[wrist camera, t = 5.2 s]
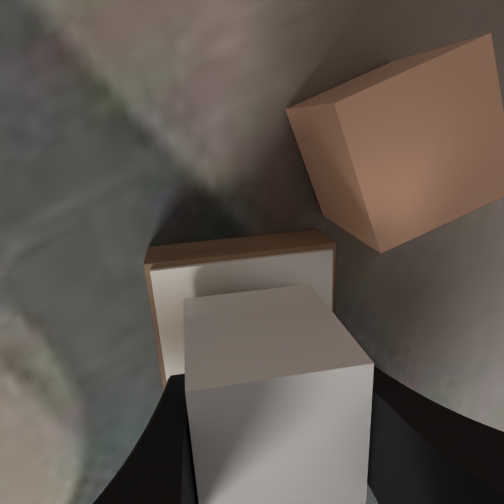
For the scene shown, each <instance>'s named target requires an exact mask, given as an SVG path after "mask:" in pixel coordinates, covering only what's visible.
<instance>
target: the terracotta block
mask: <svg viewBox="0 0 504 504" xmlns="http://www.w3.org/2000/svg"><path fill="white" fill-rule="evenodd" d="M285 110H286V113H287V116H288V119H289V121H290V124H291V127H292V130H293V133H294V135H295V138H296V141H297V144H298V147H299V149H300V152H301V155H302V158H303V161H304V163H305V166H306V169H307V172H308V175H309V177H310V180H311V183H312V186H313V189H314V191H315V194H316V197H317V200H318V203H319V205H320V208H321V211H322V214H323V216H324V217H326V218H327V219H329V220H330V221H332V222H333V223H335V224H336V225H338V226H339V227H341V228H342V229H344V230H345V231H347V232H348V233H350V234H351V235H353V236H354V237H356V238H358V239H359V240H361V241H362V242H364V243H365V244H367V245H368V246H370V247H371V248H373V249H374V250H376V251H377V252H379V253H380V254H381V253H384V252H386V251H388V250H390V249H392V248H394V247H397V246H399V245H401V244H403V243H405V242H407V241H410V240H412V239H414V238H416V237H418V236H420V235H423V234H425V233H427V232H429V231H431V230H433V229H435V228H438V227H440V226H442V225H444V224H446V223H448V222H451V221H453V220H455V219H457V218H459V217H461V216H464V215H466V214H468V213H470V212H472V211H474V210H477V209H479V208H481V207H483V206H485V205H487V204H490V203H492V202H494V201H496V200H498V199H500V198H502V197H504V110H503V104H502V97H501V91H500V85H499V78H498V72H497V66H496V60H495V53H494V47H493V41H492V34H491V33H488V34H485V35H481V36H478V37H474V38H471V39H467V40H464V41H460V42H457V43H454V44H450V45H447V46H443V47H440V48H436V49H433V50H429V51H426V52H422V53H419V54H415V55H412V56H408V57H405V58H402V59H398V60H395V61H392V62H390V63H387V64H385V65H383V66H381V67H378V68H376V69H374V70H372V71H370V72H367V73H365V74H363V75H361V76H358V77H356V78H354V79H352V80H349V81H347V82H345V83H343V84H341V85H338V86H336V87H334V88H332V89H329V90H327V91H325V92H323V93H320V94H318V95H316V96H314V97H312V98H309V99H307V100H305V101H303V102H300V103H298V104H296V105H294V106H291V107H289V108H287V109H285Z"/></svg>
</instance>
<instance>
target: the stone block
mask: <svg viewBox="0 0 504 504" xmlns="http://www.w3.org/2000/svg"><path fill="white" fill-rule="evenodd" d="M184 357H185V395H186V403H187V412H188V420H189V428H190V436H191V445H192V453H193V461H194V469H195V478H196V486H197V494H198V502H199V504H364V503H366V493H367V476H368V459H369V442H370V425H371V408H372V391H373V374H374V363H373V361H372V360H371V359H370V358H369V356H368V355H367V354H366V353H365V352H364V350H363V349H362V348H361V347H360V345H359V344H358V343H357V342H356V340H355V339H354V338H353V337H352V335H351V334H350V333H349V332H348V331H347V329H346V328H345V327H344V326H343V324H342V323H341V322H340V321H339V319H338V318H337V317H336V316H335V315H334V313H333V312H332V311H331V310H330V308H329V307H328V306H327V305H326V303H325V302H324V301H323V300H322V298H321V297H320V296H319V295H318V294H317V292H316V291H315V290H314V289H313V287H312V286H311V285H310V284H307V285H298V286H290V287H281V288H272V289H264V290H255V291H246V292H237V293H229V294H220V295H211V296H203V297H194V298H185V299H184Z"/></svg>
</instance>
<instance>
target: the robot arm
mask: <svg viewBox="0 0 504 504" xmlns="http://www.w3.org/2000/svg"><path fill="white" fill-rule="evenodd" d="M367 483H368V485H369V487H370V488H371V490H372V492H373V494H374V496H375V497H376V499H377V501H378V503H379V504H504V432H502V431H500V430H497V429H494V428H492V427H489V426H487V425H484V424H481V423H479V422H477V421H474V420H472V419H469V418H467V417H465V416H463V415H460V414H458V413H456V412H454V411H452V410H450V409H448V408H445V407H443V406H441V405H439V404H437V403H435V402H433V401H431V400H430V399H428V398H426V397H424V396H422V395H420V394H419V393H417V392H415V391H413V390H411V389H410V388H408V387H406V386H405V385H403V384H401V383H400V382H398V381H396V380H395V379H393V378H392V377H390V376H388V375H387V374H385V373H384V372H382V371H381V370H379V369H377V368H376V367H374V374H373V391H372V408H371V425H370V442H369V459H368V476H367ZM93 504H198V494H197V486H196V478H195V469H194V461H193V453H192V445H191V436H190V428H189V420H188V412H187V403H186V395H185V373H184V374H177V375H171V376H170V377H169V378H168V380H167V384H166V386H165V389H164V392H163V394H162V397H161V399H160V401H159V403H158V405H157V407H156V409H155V411H154V413H153V415H152V417H151V419H150V421H149V423H148V425H147V427H146V429H145V430H144V432H143V434H142V436H141V437H140V439H139V441H138V442H137V444H136V446H135V447H134V449H133V451H132V452H131V454H130V455H129V457H128V458H127V460H126V461H125V463H124V464H123V465H122V467H121V468H120V470H119V471H118V472H117V474H116V475H115V477H114V478H113V479H112V481H111V482H110V483H109V484H108V486H107V487H106V488H105V489H104V491H103V492H102V493H101V494H100V496H99V497H98V498H97V499H96V501H95V502H94V503H93Z"/></svg>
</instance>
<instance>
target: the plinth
mask: <svg viewBox="0 0 504 504" xmlns="http://www.w3.org/2000/svg"><path fill="white" fill-rule="evenodd" d="M144 270H145V277H146V283H147V290H148V296H149V302H150V309H151V315H152V322H153V328H154V334H155V341H156V347H157V354H158V360H159V366H160V373H161V379H162V386H163V392H164V389H165V386H166V384H167V380H168V378H169V377H170V376H171V375H177V374H184V373H185V357H184V299H185V298H194V297H203V296H211V295H220V294H229V293H237V292H246V291H255V290H264V289H272V288H281V287H290V286H298V285H307V284H310V285H311V286H312V287H313V289H314V290H315V291H316V292H317V294H318V295H319V296H320V297H321V298H322V300H323V301H324V302H325V303H326V305H327V306H328V307H329V308H330V310H331V311H332V312H333V313H334V315H335V288H336V243H335V242H334V241H333V240H331V239H330V238H329V237H327V236H326V235H325V234H323V233H322V232H321V231H320V230H318V229H313V230H303V231H294V232H284V233H274V234H265V235H255V236H246V237H236V238H227V239H217V240H207V241H198V242H188V243H179V244H169V245H159V246H150V247H148V249H147V253H146V257H145V261H144Z"/></svg>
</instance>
